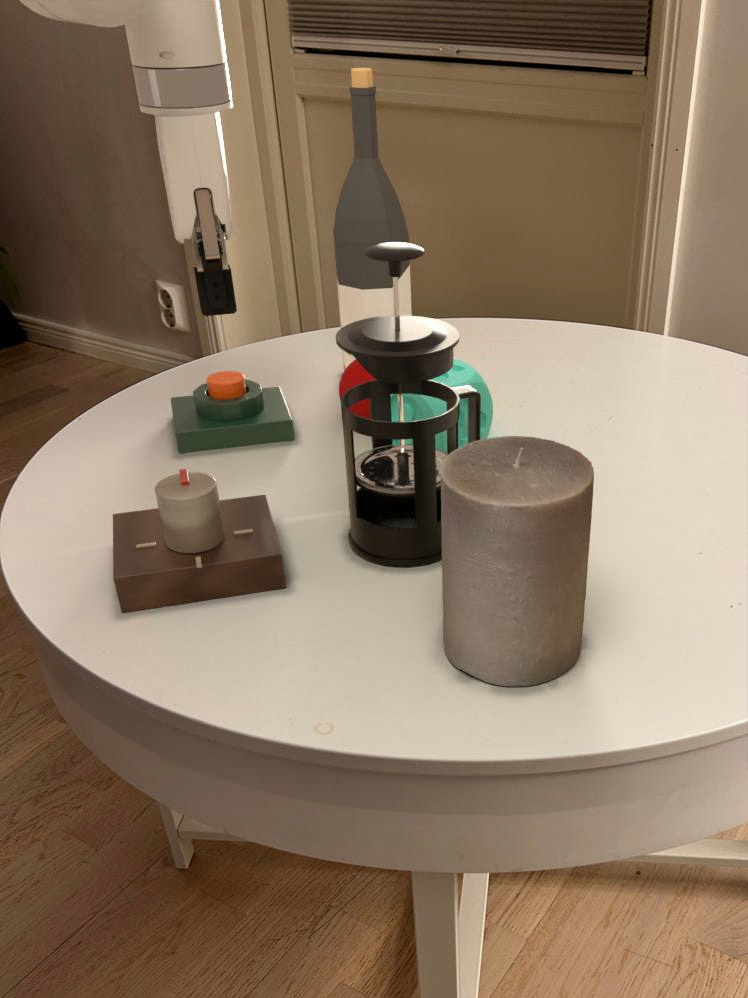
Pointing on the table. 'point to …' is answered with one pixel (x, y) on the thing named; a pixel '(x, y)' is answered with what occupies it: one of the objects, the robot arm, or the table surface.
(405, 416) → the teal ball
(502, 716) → the table surface
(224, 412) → the button box
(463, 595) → the pillar candle
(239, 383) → the button
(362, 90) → the wine bottle
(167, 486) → the dial knob
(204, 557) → the dial panel
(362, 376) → the christmas ornament
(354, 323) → the french press
